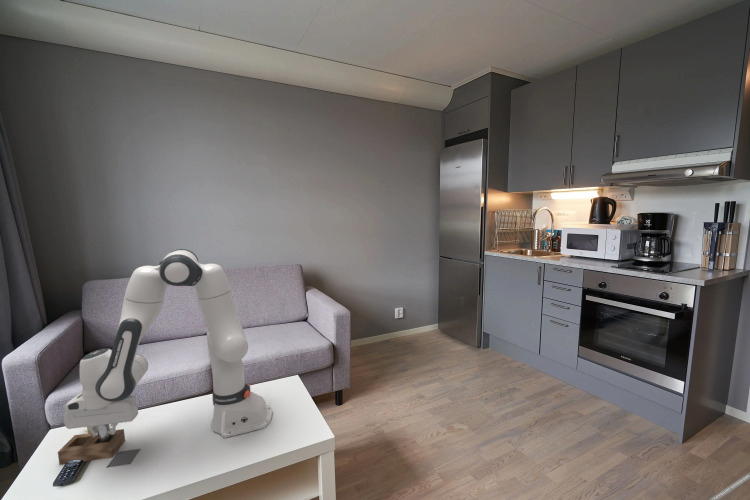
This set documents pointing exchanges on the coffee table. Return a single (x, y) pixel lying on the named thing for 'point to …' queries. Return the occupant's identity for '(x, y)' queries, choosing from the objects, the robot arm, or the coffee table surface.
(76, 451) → the socket block
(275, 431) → the coffee table surface
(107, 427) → the peg
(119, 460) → the mat
